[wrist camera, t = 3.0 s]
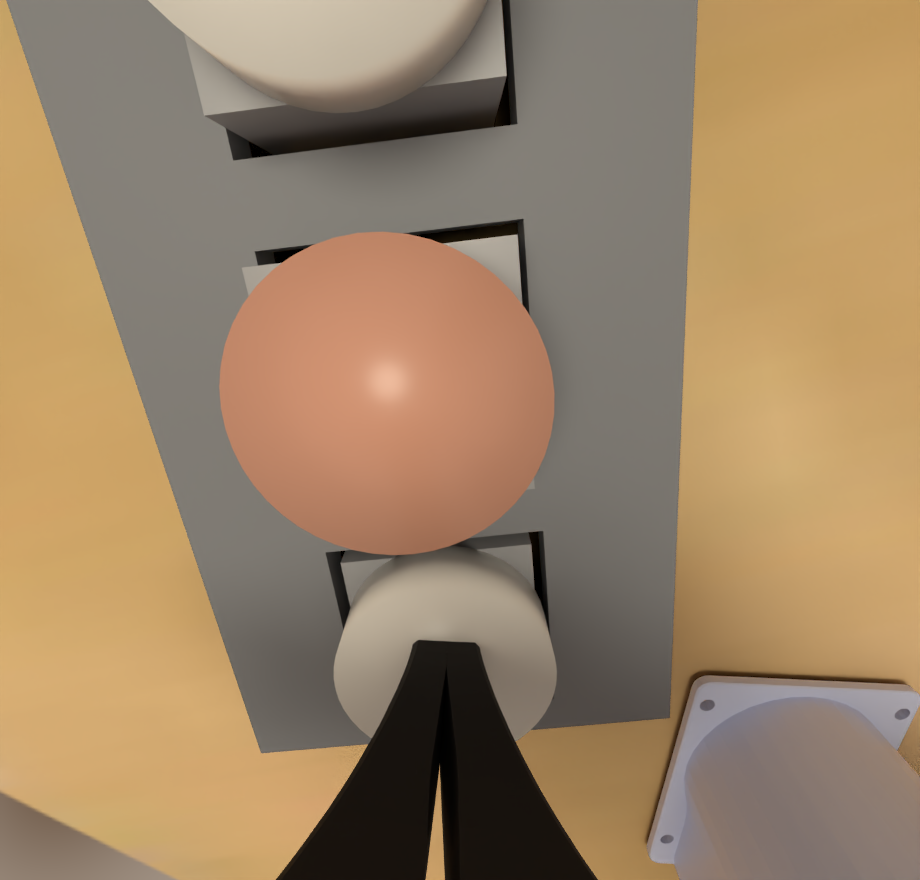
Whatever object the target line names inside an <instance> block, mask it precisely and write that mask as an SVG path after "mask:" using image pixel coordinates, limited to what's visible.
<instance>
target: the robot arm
mask: <svg viewBox="0 0 920 880" xmlns="http://www.w3.org/2000/svg"><path fill="white" fill-rule="evenodd" d="M704 700H706V701H704ZM919 705H920V695H919V694H918V693H917V692H916V691H915V690H914V689H913V688H912V687H910V686H909V685H905V684H884V683H863V682H841V681H820V680H799V679H777V678H756V677H735V676H713V675H706V676H702V677H699V678H698V679H696V680H695V681H694V683H693V685H692V688H691V691H690V695H689V698H688V702H687V705H686V709H685V712H684V716H683V719H682V723H681V726H680V730H679V733H678V737H677V740H676V744H675V748H674V751H673V755H672V758H671V762H670V765H669V769H668V772H667V776H666V779H665V783H664V786H663V790H662V793H661V797H660V801H659V804H658V808H657V811H656V815H655V818H654V822H653V825H652V829H651V832H650V836H649V839H648V843H647V851H648V855H649V857H650V859H651V860H652V861H654V862H656V863H671V864H674V865H675V868H676V871H677V873H678V876H679V879H680V880H920V776H919V775H918V774H917V773H916V772H915V771H914V769H913V768H912V767H911V766H910V765H909V764H908V763H907V762H906V760H905V759H904V758H903V757H902V756H901V755H900V754H899V753H898V752H897V750H898V748H899V746H900V744H901V742H902V740H903V738H904V736H905V734H906V732H907V730H908V728H909V726H910V724H911V722H912V720H913V717H914V715H915V713H916V711H917V709H918V707H919ZM439 765H440V779H441V801H442V823H443V845H444V866H445V880H598V879H597V878H596V876H595V875H594V873H593V872H592V871H591V869H590V868H589V866H588V865H587V864H586V862H585V861H584V859H583V858H582V856H581V855H580V853H579V852H578V850H577V849H576V847H575V846H574V844H573V843H572V841H571V839H570V838H569V836H568V835H567V833H566V832H565V830H564V828H563V827H562V825H561V824H560V822H559V820H558V819H557V817H556V815H555V814H554V812H553V810H552V809H551V807H550V805H549V804H548V802H547V800H546V799H545V797H544V795H543V793H542V792H541V790H540V788H539V786H538V785H537V783H536V781H535V779H534V777H533V775H532V774H531V772H530V770H529V768H528V766H527V764H526V762H525V760H524V758H523V756H522V754H521V752H520V750H519V748H518V746H517V744H516V742H515V740H514V738H513V736H512V734H511V731H510V729H509V727H508V725H507V722H506V720H505V718H504V716H503V713H502V711H501V709H500V706H499V704H498V702H497V699H496V697H495V694H494V691H493V689H492V686H491V683H490V681H489V678H488V675H487V672H486V669H485V666H484V662H483V659H482V655H481V651H480V647H479V646H478V645H477V644H476V643H475V642H452V641H431V640H417V641H416V642H415V643H413V645H412V650H411V653H410V656H409V660H408V663H407V665H406V668H405V671H404V673H403V676H402V678H401V680H400V683H399V685H398V687H397V690H396V692H395V694H394V696H393V698H392V700H391V702H390V704H389V706H388V708H387V710H386V713H385V715H384V717H383V719H382V721H381V723H380V724H379V726H378V728H377V730H376V732H375V734H374V735H373V737H372V739H371V741H370V742H369V744H368V746H367V748H366V749H365V751H364V753H363V755H362V757H361V758H360V760H359V762H358V763H357V765H356V767H355V768H354V770H353V772H352V773H351V775H350V777H349V778H348V780H347V781H346V783H345V784H344V786H343V788H342V789H341V791H340V792H339V794H338V795H337V797H336V798H335V800H334V801H333V803H332V804H331V806H330V807H329V809H328V810H327V812H326V813H325V814H324V816H323V817H322V819H321V820H320V821H319V823H318V824H317V826H316V827H315V828H314V830H313V831H312V833H311V834H310V835H309V837H308V838H307V839H306V841H305V842H304V844H303V845H302V846H301V848H300V849H299V850H298V852H297V853H296V854H295V856H294V857H293V858H292V860H291V861H290V862H289V864H288V865H287V866H286V868H285V869H284V870H283V871H282V873H281V874H280V875H279V876H278V878H277V879H276V880H425V879H426V871H427V863H428V855H429V847H430V839H431V831H432V822H433V814H434V806H435V798H436V790H437V782H438V774H439Z"/></svg>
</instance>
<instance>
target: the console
mask: <svg viewBox="0 0 920 880" xmlns="http://www.w3.org/2000/svg"><path fill="white" fill-rule="evenodd" d="M6 1H7V4H8V6H9V9H10V12H11V15H12V18H13V21H14V24H15V27H16V30H17V33H18V36H19V39H20V42H21V45H22V48H23V51H24V54H25V57H26V60H27V63H28V66H29V69H30V71H31V74H32V77H33V80H34V83H35V86H36V89H37V92H38V95H39V98H40V101H41V104H42V107H43V110H44V113H45V116H46V119H47V122H48V125H49V128H50V131H51V134H52V136H53V139H54V142H55V145H56V148H57V151H58V154H59V157H60V160H61V163H62V166H63V169H64V172H65V175H66V178H67V181H68V184H69V187H70V190H71V193H72V196H73V199H74V201H75V204H76V207H77V210H78V213H79V216H80V219H81V222H82V225H83V228H84V231H85V234H86V237H87V240H88V243H89V246H90V249H91V252H92V255H93V258H94V261H95V264H96V266H97V269H98V272H99V275H100V278H101V281H102V284H103V287H104V290H105V293H106V296H107V299H108V302H109V305H110V308H111V311H112V314H113V317H114V320H115V323H116V326H117V329H118V331H119V334H120V337H121V340H122V343H123V346H124V349H125V352H126V355H127V358H128V361H129V364H130V367H131V370H132V373H133V376H134V379H135V382H136V385H137V388H138V391H139V394H140V396H141V399H142V402H143V405H144V408H145V411H146V414H147V417H148V420H149V423H150V426H151V429H152V432H153V435H154V438H155V441H156V444H157V447H158V450H159V453H160V456H161V459H162V461H163V464H164V467H165V470H166V473H167V476H168V479H169V482H170V485H171V488H172V491H173V494H174V497H175V500H176V503H177V506H178V509H179V512H180V515H181V518H182V521H183V524H184V526H185V529H186V532H187V535H188V538H189V541H190V544H191V547H192V550H193V553H194V556H195V559H196V562H197V565H198V568H199V571H200V574H201V577H202V580H203V583H204V586H205V589H206V591H207V594H208V597H209V600H210V603H211V606H212V609H213V612H214V615H215V618H216V621H217V624H218V627H219V630H220V633H221V636H222V639H223V642H224V645H225V648H226V651H227V654H228V656H229V659H230V662H231V665H232V668H233V671H234V674H235V677H236V680H237V683H238V686H239V689H240V692H241V695H242V698H243V701H244V704H245V707H246V710H247V713H248V716H249V719H250V721H251V724H252V727H253V730H254V733H255V736H256V739H257V742H258V745H259V748H260V751H261V753H270V752H281V751H293V750H305V749H316V748H328V747H339V746H351V745H363V744H369V742H370V741H371V739H372V738H370V737H369V736H367V735H366V734H365V733H364V732H363V731H361V730H360V729H359V728H358V727H357V726H356V725H355V724H354V723H353V722H352V720H351V719H350V718H349V716H348V715H347V714H346V712H345V711H344V709H343V707H342V705H341V703H340V701H339V698H338V695H337V693H336V689H335V683H334V662H335V656H336V653H337V650H338V646H339V643H340V640H341V637H342V633H343V630H344V627H345V624H346V621H347V617H348V614H349V611H350V603H349V599H348V594H347V590H346V585H345V581H344V577H343V572H342V568H341V561H342V558H341V553H340V551H346V550H351V549H348V548H345V547H341V546H338V545H335V544H332V543H330V542H328V541H325V540H323V539H321V538H318V537H316V536H314V535H312V534H311V533H309V532H307V531H305V530H304V529H302V528H300V527H298V526H297V525H296V524H294V523H293V522H292V521H290V520H289V519H287V518H286V517H285V516H283V515H282V514H281V513H280V512H279V511H278V510H277V509H275V508H274V507H273V506H272V505H271V504H270V503H269V502H268V501H267V500H266V499H265V498H264V497H263V495H262V494H261V493H260V492H259V491H258V490H257V489H256V487H255V486H254V485H253V484H252V482H251V481H250V479H249V478H248V476H247V475H246V473H245V472H244V470H243V469H242V467H241V465H240V463H239V461H238V459H237V457H236V455H235V453H234V451H233V449H232V446H231V443H230V441H229V438H228V435H227V432H226V429H225V425H224V420H223V416H222V411H221V403H220V390H219V384H220V367H221V361H222V356H223V351H224V346H225V343H226V340H227V337H228V334H229V332H230V329H231V326H232V323H233V322H234V320H235V318H236V316H237V314H238V312H239V310H240V308H241V307H242V305H243V303H244V302H245V301H246V299H247V298H248V297H249V295H248V291H247V287H246V283H245V279H244V275H243V271H242V268H244V267H252V266H260V265H268V264H276V262H275V258H274V253H273V252H279V251H287V250H295V249H303V248H308V247H310V246H312V245H314V244H317V243H320V242H323V241H326V240H329V239H331V238H334V237H339V236H345V235H350V234H355V233H365V232H392V233H403V234H410V235H419V234H427V233H435V232H443V231H452V230H460V229H468V228H476V227H485V226H493V225H501V224H509V223H518V238H519V253H520V267H521V282H522V297H523V306H524V307H525V309H526V310H527V312H528V314H529V315H530V317H531V319H532V320H533V322H534V324H535V326H536V327H537V329H538V331H539V334H540V336H541V339H542V341H543V343H544V346H545V348H546V351H547V355H548V359H549V362H550V366H551V370H552V376H553V385H554V393H555V395H554V419H553V425H552V432H551V436H550V440H549V443H548V447H547V450H546V453H545V456H544V458H543V460H542V463H541V465H540V467H539V469H538V471H537V473H536V475H535V477H534V484H535V489H527V490H526V491H525V492H524V493H523V494H522V496H521V497H520V498H519V499H518V501H517V502H516V503H515V504H514V505H513V506H512V507H511V508H510V509H509V510H508V511H507V512H506V513H505V514H504V515H503V516H502V517H501V518H499V519H498V520H497V521H495V522H494V523H492V524H491V525H490V526H488V527H487V528H486V529H484V530H482V531H481V532H479V533H477V534H475V535H474V536H472V537H470V538H476V537H486V536H496V535H506V534H516V533H526V532H536V531H538V534H539V549H540V564H541V579H542V593H543V600H540V601H541V605H542V608H543V611H544V615H545V619H546V623H547V627H548V631H549V635H550V639H551V643H552V648H553V652H554V656H555V661H556V668H557V681H556V687H555V692H554V695H553V698H552V700H551V703H550V705H549V707H548V709H547V710H546V712H545V714H544V715H543V716H542V718H541V719H540V720H539V722H538V723H537V724H536V725H535V726H534V727H533V728H532V729H531V730H536V729H548V728H559V727H571V726H583V725H594V724H606V723H617V722H629V721H640V720H652V719H664V718H670V695H671V670H672V644H673V619H674V593H675V568H676V542H677V517H678V491H679V466H680V440H681V415H682V389H683V364H684V338H685V312H686V287H687V261H688V236H689V210H690V185H691V159H692V134H693V108H694V83H695V57H696V32H697V6H698V0H502V1H503V15H504V30H505V45H506V60H507V75H508V89H509V104H510V119H511V125H507V126H499V127H491V128H484V129H476V130H468V131H460V132H452V133H445V134H437V135H429V136H421V137H413V138H406V139H398V140H390V141H382V142H374V143H367V144H359V145H351V146H343V147H335V148H328V149H320V150H312V151H304V152H296V153H289V154H281V155H273V156H265V157H257V158H252V155H251V150H250V146H249V141H248V140H246V139H244V138H243V137H241V136H239V135H237V134H236V133H234V132H232V131H230V130H229V129H227V128H225V127H223V126H222V125H220V124H218V123H216V122H214V121H213V120H211V119H209V118H207V117H206V116H204V113H203V109H202V105H201V101H200V97H199V92H198V88H197V84H196V80H195V76H194V72H193V68H192V64H191V60H190V56H189V52H188V48H187V44H186V40H185V36H184V33H183V32H182V31H181V30H180V29H179V28H177V27H176V26H175V25H174V24H173V23H171V22H170V21H169V20H168V19H167V18H166V17H165V16H164V15H163V14H162V13H161V12H160V11H159V10H158V9H157V8H156V7H154V6H153V5H152V4H151V3H150V2H149V1H148V0H6Z"/></svg>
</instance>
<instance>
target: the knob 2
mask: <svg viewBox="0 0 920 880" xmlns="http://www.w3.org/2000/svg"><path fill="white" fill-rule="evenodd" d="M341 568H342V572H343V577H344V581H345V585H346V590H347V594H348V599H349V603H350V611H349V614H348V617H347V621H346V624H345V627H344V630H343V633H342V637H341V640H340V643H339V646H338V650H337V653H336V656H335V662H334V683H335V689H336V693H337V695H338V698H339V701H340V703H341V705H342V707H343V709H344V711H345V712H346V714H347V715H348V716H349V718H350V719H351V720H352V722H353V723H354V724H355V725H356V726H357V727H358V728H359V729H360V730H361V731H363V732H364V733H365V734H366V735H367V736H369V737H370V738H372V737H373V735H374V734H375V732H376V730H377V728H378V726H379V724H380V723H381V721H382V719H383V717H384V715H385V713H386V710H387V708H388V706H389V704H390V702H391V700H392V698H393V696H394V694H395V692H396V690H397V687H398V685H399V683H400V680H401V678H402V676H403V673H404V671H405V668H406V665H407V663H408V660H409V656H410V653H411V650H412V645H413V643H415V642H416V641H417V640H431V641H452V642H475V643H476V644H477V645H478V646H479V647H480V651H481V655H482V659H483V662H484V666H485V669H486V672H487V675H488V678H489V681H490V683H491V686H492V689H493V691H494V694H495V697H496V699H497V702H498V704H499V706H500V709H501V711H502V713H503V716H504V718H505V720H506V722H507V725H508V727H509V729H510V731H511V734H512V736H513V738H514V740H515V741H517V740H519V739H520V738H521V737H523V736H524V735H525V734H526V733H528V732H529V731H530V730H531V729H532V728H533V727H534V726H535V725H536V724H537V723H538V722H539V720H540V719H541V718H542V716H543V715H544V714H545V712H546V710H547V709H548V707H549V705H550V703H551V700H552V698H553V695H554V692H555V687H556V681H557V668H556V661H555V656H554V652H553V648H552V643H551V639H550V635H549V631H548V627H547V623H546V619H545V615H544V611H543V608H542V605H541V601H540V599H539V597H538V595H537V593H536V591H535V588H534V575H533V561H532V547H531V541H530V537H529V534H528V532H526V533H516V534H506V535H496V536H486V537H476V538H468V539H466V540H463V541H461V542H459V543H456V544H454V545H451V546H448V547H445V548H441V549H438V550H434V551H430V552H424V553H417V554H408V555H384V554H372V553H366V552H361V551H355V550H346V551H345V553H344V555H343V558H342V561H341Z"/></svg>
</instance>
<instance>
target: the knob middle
mask: <svg viewBox="0 0 920 880" xmlns="http://www.w3.org/2000/svg"><path fill="white" fill-rule="evenodd" d="M242 271H243V275H244V279H245V283H246V287H247V291H248V295H249V297H248V298H247V299H246V301H245V302H244V303H243V305H242V307H241V308H240V310H239V312H238V314H237V316H236V318H235V320H234V322H233V323H232V326H231V329H230V332H229V334H228V337H227V340H226V343H225V346H224V351H223V356H222V361H221V367H220V384H219V390H220V403H221V411H222V416H223V420H224V425H225V429H226V432H227V435H228V438H229V441H230V443H231V446H232V449H233V451H234V453H235V455H236V457H237V459H238V461H239V463H240V465H241V467H242V469H243V470H244V472H245V473H246V475H247V476H248V478H249V479H250V481H251V482H252V484H253V485H254V486H255V487H256V489H257V490H258V491H259V492H260V493H261V494H262V495H263V497H264V498H265V499H266V500H267V501H268V502H269V503H270V504H271V505H272V506H273V507H274V508H275V509H277V510H278V511H279V512H280V513H281V514H282V515H283V516H285V517H286V518H287V519H289V520H290V521H292V522H293V523H294V524H296V525H297V526H298V527H300V528H302V529H304V530H305V531H307V532H309V533H311V534H312V535H314V536H316V537H318V538H321V539H323V540H325V541H328V542H330V543H332V544H335V545H338V546H341V547H345V548H348V549H351V550H355V551H361V552H366V553H372V554H384V555H408V554H417V553H424V552H430V551H434V550H438V549H441V548H445V547H448V546H451V545H454V544H456V543H459V542H461V541H463V540H466V539H468V538H470V537H472V536H474V535H475V534H477V533H479V532H481V531H482V530H484V529H486V528H487V527H488V526H490V525H491V524H492V523H494V522H495V521H497V520H498V519H499V518H501V517H502V516H503V515H504V514H505V513H506V512H507V511H508V510H509V509H510V508H511V507H512V506H513V505H514V504H515V503H516V502H517V501H518V499H519V498H520V497H521V496H522V494H523V493H524V492H525V491H526V490H527V489H535V484H534V477H535V475H536V473H537V471H538V469H539V467H540V465H541V463H542V460H543V458H544V456H545V453H546V450H547V447H548V443H549V440H550V436H551V432H552V425H553V419H554V395H555V393H554V385H553V376H552V370H551V366H550V362H549V359H548V355H547V351H546V348H545V346H544V343H543V341H542V339H541V336H540V334H539V331H538V329H537V327H536V326H535V324H534V322H533V320H532V319H531V317H530V315H529V314H528V312H527V310H526V309H525V307H524V306H523V305H522V293H521V278H520V263H519V248H518V234H517V235H509V236H501V237H492V238H484V239H476V240H467V241H459V242H451V243H443V244H442V243H439V242H436V241H434V240H431V239H427V238H423V237H418V236H414V235H410V234H403V233H392V232H365V233H355V234H350V235H345V236H339V237H334V238H331V239H329V240H326V241H323V242H320V243H317V244H314V245H312V246H310V247H308V248H306V249H304V250H302V251H300V252H298V253H297V254H295V255H293V256H291V257H290V258H288V259H287V260H285V261H284V262H283V263H277V264H268V265H260V266H252V267H244V268H242Z"/></svg>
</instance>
